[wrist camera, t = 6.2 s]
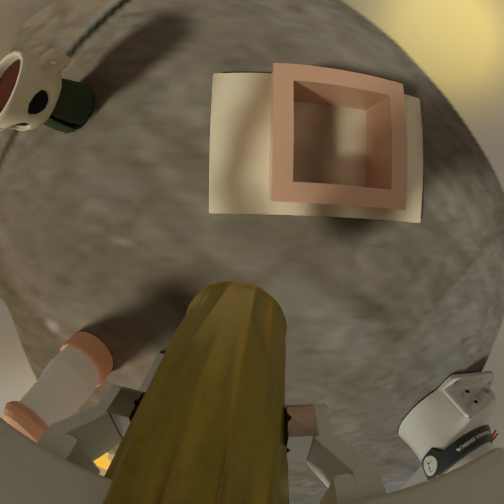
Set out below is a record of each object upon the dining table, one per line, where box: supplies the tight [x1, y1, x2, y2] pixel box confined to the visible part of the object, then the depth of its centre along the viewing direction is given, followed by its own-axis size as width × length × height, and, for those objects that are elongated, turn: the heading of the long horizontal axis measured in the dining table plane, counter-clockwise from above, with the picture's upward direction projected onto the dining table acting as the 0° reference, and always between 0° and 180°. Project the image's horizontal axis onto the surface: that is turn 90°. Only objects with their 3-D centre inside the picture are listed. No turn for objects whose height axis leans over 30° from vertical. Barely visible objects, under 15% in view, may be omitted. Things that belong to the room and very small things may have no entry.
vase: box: [102, 281, 289, 504], centre depth 9 cm, size 6×6×14 cm
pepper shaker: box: [4, 331, 113, 443], centre depth 22 cm, size 7×7×19 cm
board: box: [209, 73, 423, 223], centre depth 24 cm, size 22×14×1 cm, turn 89°
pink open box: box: [269, 63, 407, 210], centre depth 21 cm, size 11×11×6 cm
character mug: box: [0, 49, 93, 133], centre depth 17 cm, size 11×7×13 cm, turn 115°
